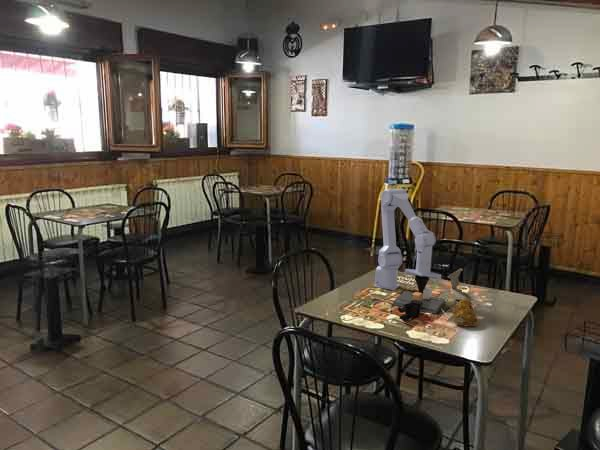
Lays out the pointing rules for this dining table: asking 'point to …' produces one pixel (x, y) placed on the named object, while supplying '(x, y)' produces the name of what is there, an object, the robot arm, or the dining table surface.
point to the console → (426, 304)
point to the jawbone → (455, 283)
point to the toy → (410, 310)
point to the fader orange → (417, 296)
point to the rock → (465, 314)
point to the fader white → (427, 293)
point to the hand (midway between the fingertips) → (421, 293)
